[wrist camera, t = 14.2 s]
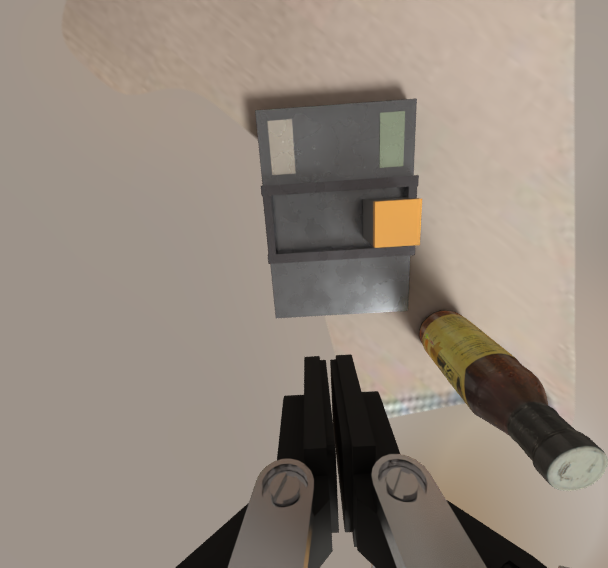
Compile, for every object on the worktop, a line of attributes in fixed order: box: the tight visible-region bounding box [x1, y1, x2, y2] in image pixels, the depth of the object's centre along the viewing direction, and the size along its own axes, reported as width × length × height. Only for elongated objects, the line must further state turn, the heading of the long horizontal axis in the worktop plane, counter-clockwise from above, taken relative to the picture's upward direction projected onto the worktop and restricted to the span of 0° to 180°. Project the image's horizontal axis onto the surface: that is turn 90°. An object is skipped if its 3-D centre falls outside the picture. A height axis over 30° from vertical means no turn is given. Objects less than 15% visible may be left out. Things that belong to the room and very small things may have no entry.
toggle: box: [363, 197, 422, 248], centre depth 30 cm, size 4×4×6 cm
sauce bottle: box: [419, 311, 608, 491], centre depth 29 cm, size 6×6×20 cm
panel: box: [255, 99, 419, 318], centre depth 33 cm, size 22×16×4 cm
